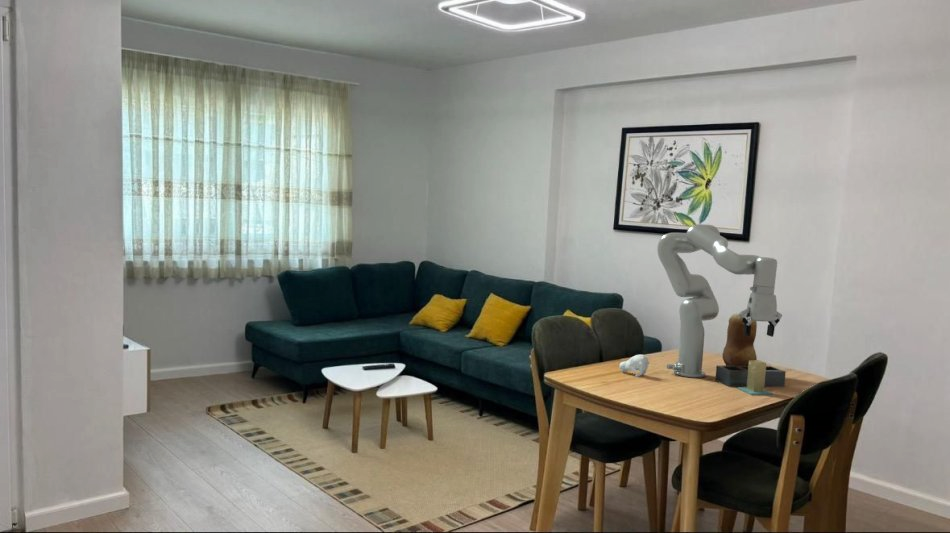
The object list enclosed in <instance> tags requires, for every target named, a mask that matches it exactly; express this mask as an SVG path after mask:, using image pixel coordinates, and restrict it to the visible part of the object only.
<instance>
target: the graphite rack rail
mask: <svg viewBox="0 0 950 533" xmlns="http://www.w3.org/2000/svg"><path fill="white" fill-rule="evenodd" d="M715 368H716V370H715V381H716V382H719V383H720V384H723V385H725V386H727V387H730V388H731V387H737V388H738V387H741V386H747V377H748V366H726V365H716V367H715ZM786 372H787V371H785V370H783V369H781V368H778V367H775V366H772V365H766V373H765V385H764V386H765V387H785V384H786Z"/></svg>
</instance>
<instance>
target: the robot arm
mask: <svg viewBox="0 0 950 533" xmlns="http://www.w3.org/2000/svg"><path fill="white" fill-rule="evenodd" d="M720 234H721V232H720V230H719V229H718V228H717V227H716V226H715V225H711V224H699V223H698V224H693V225H691V226H690V227H689V228H688V230H687V231H686V232H668V233H665V234H664V235H663V236H661V237H660V239H659V241H658V243H657V256H658V258H659V261H660V262H661V264H662V267H663V268H664V270H665V272H666V275H667V278H668V280H669V282H670V284H671V286H672V289H673V291H674V293H675V294H676V296H677V297H680V298H686V299H685V300H683V301H682V302H681V303H680V305H679V310H678V312H679V320H680V327H679V328H680V330H679V331H680V332H679V346H678V347H679V348H678V358H677V360H678V361H675V363H674V364H669V363H667V364H666V369H667V370H673V373H674V374H675V375H678V376H682V377H685V378H686V377H687V378H694V379H695V378H698V379H699V378H704V377H706V372H705V371H703V359H704V358H703V356H704V345H705V344H704V343H705V327H704V323H703V321H711V320H714V319H716V318H717V316H718V315H719V312H720V307H719V304H718V301H717V298H716V296H715V294H714V291H713V289H712V287H711V285H710V283H709V282H708V280H707V279H706V277H704V276H703V275H702V274H696V273H695V274H694V273H693V274H692V273H690V271H689V269H688V266H687V264H686V262H685V261H684V260H683V259H682V258H681V256H679V254H691V253H694V252H695V253H696V252H698V251H701V250H702V251H703V252H705V253H707V254H708V255H710V256H711V257H712V258H713V259H714V261H715V262H716V264H717V265H719V267H722V268H723V269H724V270H726V271H728V272H730V273H731V274H734V275H737V276H738V275H740V276H741V275H753V283H752V286H750V287H749V291H751V292H750V295H749V297H748V300H747V306H746V309H744V310H742V311H739V313H738V314H739V315H740V318H741V321H742V322H743V324H744V335H747V336H750V332H751V326H750V324H751V323H752V322H753V320H754V321H756V322H768V325H767V329H766V336H769V337H774V335H775V327H776V326H777V325H778V323H779V322H780V320H781V319H782V317H783V315H782V313H780V312H778V311H777V310H778V309H777V308H778V305H777V295H775V289H776V288H775V286H776V278H777V270H778V269H777V268H778V261H777V259H776V258H774V257H763V256H759V255H755V254H740V253H736V252H734V251H733V250H731V249H730V248H728V246H729V241H728V239H727V238H726V237H724V236H722V235H720ZM745 315H746V317H747V318H745Z"/></svg>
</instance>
